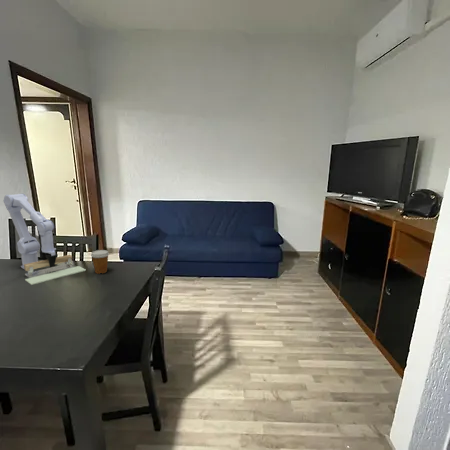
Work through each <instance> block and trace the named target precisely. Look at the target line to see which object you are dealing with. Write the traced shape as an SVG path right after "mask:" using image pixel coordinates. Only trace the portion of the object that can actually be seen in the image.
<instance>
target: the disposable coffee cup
mask: <svg viewBox="0 0 450 450" xmlns="http://www.w3.org/2000/svg"><path fill="white" fill-rule="evenodd" d="M90 255H91V258H92V262H93V263H92V265H93V268H94V272H95V274H97V275H98V274H100V273H102V274H105V273H107V271H108V264H109V263H108V262H109V255H110V253H109V251H108V250H105V249H97V250H93V251H92V252H91V253H90Z"/></svg>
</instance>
